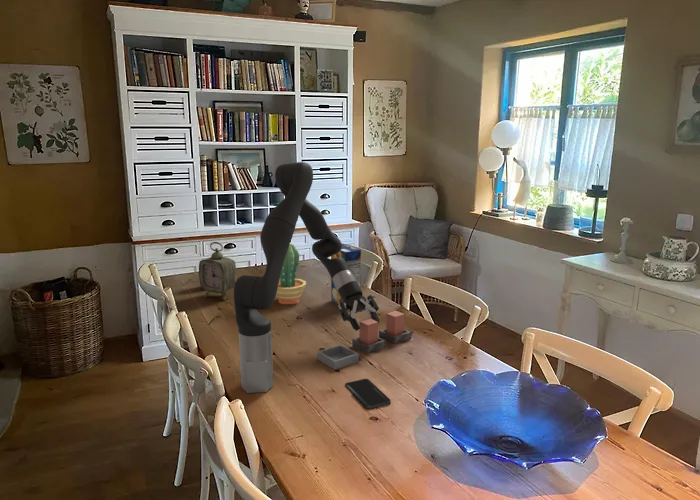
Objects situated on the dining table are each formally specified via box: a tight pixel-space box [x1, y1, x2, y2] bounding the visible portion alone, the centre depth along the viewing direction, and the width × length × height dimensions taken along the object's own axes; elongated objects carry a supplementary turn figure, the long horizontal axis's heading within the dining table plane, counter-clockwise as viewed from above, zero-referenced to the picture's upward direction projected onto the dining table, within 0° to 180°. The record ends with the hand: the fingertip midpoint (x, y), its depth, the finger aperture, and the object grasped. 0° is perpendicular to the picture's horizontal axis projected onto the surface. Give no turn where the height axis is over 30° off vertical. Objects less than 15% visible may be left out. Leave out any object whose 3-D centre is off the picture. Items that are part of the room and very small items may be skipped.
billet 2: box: [385, 310, 405, 336], centre depth 186 cm, size 4×4×9 cm
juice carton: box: [330, 244, 362, 305], centre depth 225 cm, size 12×8×24 cm, turn 32°
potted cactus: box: [275, 243, 307, 305], centre depth 227 cm, size 15×15×25 cm
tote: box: [317, 343, 360, 371], centre depth 172 cm, size 10×10×3 cm
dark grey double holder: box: [348, 328, 416, 357], centre depth 183 cm, size 21×11×4 cm, turn 128°
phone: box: [344, 378, 391, 410], centre depth 151 cm, size 8×1×15 cm
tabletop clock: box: [198, 241, 238, 301], centre depth 233 cm, size 14×9×25 cm, turn 62°
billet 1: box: [358, 317, 379, 345], centre depth 179 cm, size 4×4×9 cm
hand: (368, 326), depth 178 cm, fingers open, 8 cm apart
